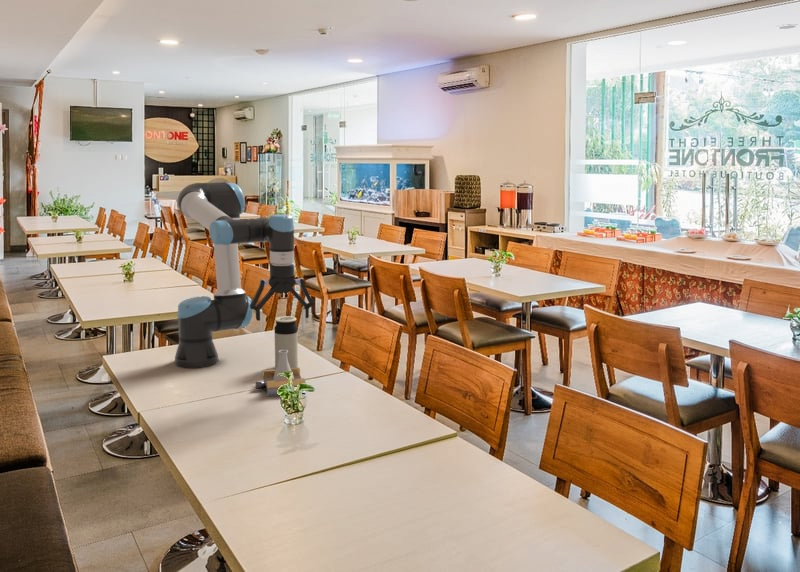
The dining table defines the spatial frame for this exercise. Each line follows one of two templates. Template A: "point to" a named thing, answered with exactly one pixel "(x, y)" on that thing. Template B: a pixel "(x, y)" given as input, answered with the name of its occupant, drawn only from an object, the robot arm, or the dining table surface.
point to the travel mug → (286, 339)
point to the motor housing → (277, 381)
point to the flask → (282, 365)
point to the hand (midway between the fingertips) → (282, 329)
